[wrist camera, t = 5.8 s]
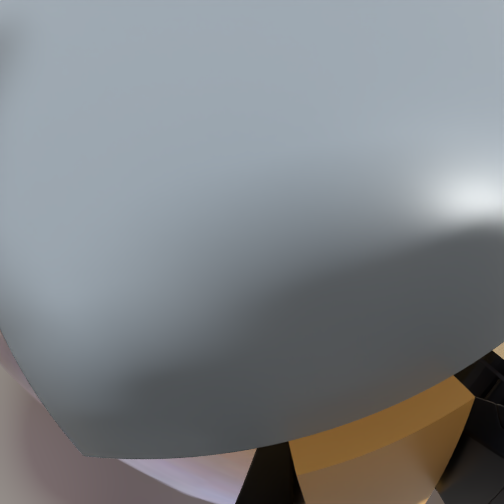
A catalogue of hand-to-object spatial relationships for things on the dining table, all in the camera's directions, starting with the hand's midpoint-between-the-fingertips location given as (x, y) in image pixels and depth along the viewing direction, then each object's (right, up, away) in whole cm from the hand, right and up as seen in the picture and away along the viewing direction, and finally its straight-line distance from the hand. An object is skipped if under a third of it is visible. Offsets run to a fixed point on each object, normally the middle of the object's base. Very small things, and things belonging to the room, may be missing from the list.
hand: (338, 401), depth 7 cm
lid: (-1, +6, -2) cm, 6 cm away
